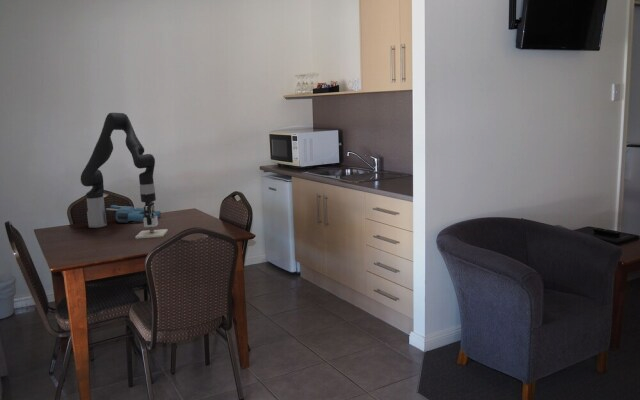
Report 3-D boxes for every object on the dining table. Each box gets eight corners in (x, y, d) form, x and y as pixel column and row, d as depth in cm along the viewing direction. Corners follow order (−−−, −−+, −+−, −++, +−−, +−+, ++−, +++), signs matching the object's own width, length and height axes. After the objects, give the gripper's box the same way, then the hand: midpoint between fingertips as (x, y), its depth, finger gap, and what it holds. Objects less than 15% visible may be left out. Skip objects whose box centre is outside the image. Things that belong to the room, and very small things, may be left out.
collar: (144, 227, 297) (143, 218, 296) (146, 224, 303) (145, 216, 302) (155, 226, 297) (154, 218, 296) (158, 224, 303) (157, 215, 302)
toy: (154, 211, 333) (102, 208, 331) (154, 226, 334) (102, 223, 332) (162, 205, 355) (113, 201, 353) (162, 219, 356) (113, 215, 354)
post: (135, 238, 293) (133, 217, 291) (141, 232, 307) (139, 212, 305) (162, 236, 294) (160, 215, 292) (167, 230, 308) (165, 211, 306)
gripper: (143, 190, 304) (146, 221, 307) (137, 194, 290) (140, 227, 292) (157, 189, 304) (160, 220, 307) (152, 194, 290) (155, 226, 293)
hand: (150, 223), depth 300 cm, fingers closed on collar, 6 cm apart
